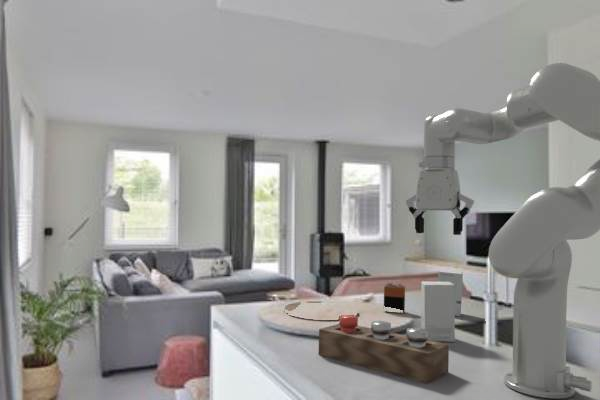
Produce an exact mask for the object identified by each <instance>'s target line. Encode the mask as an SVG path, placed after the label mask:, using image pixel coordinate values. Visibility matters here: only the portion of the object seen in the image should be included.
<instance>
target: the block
mask: <svg viewBox="0 0 600 400" xmlns="http://www.w3.org/2000/svg"><path fill="white" fill-rule="evenodd" d="M449 349H450V344H449V343H445V342H441V341H430V340H428V341H426V347H425V348H423V349H421V348H417V347H412V346H408V340H407V334H399V333H395V332H391V333H390V334H389V339H387V340H380V339H376V338H373V333H372V332H371V327H366V326H361V325H358V326H357V327H356V332H353V333H349V332H344V331H341V326H340V325H339V323H337V324H334V325H329V326H326V327H321V328H319V329H318V355H320V356H324V357H327V358H330V359H334V360H336V361H337V360H339V361H342V362H345V363H348V364H353V365H357V366H360V367H364V368H367V369H371V370H375V371H379V372H382V373H386V374H389V375H393V376H398V377H401V378H405V379H409V380H410V381H411V380H412V381H414V382H415V381H416V382H420V383H424V384H427V385H428V384H431V383H432V382H434V381H436V380H438V379H439V378H441V377H442V376H445V375H446V374H448V373H449V357H450V355H449V354H450V353H449Z"/></svg>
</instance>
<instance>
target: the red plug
mask: <svg viewBox="0 0 600 400" xmlns="http://www.w3.org/2000/svg"><path fill="white" fill-rule="evenodd" d="M358 321H359V318H358V315H357V316H354V315H341V316H339V320H338V324H339V325H340V326H341V331H344V332H349V333H353V332H356V327H357V326H359V324H358Z"/></svg>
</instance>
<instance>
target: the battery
mask: <svg viewBox="0 0 600 400" xmlns="http://www.w3.org/2000/svg"><path fill="white" fill-rule="evenodd" d="M405 303H406V287H405V285H403V284H402V283H398V284H395V285H394V283H393V282H386V285H385V286H384V288H383V307H384V306H385V307H391V308H396V309H400V310H403V311H404V312H405V308H406V305H405Z"/></svg>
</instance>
